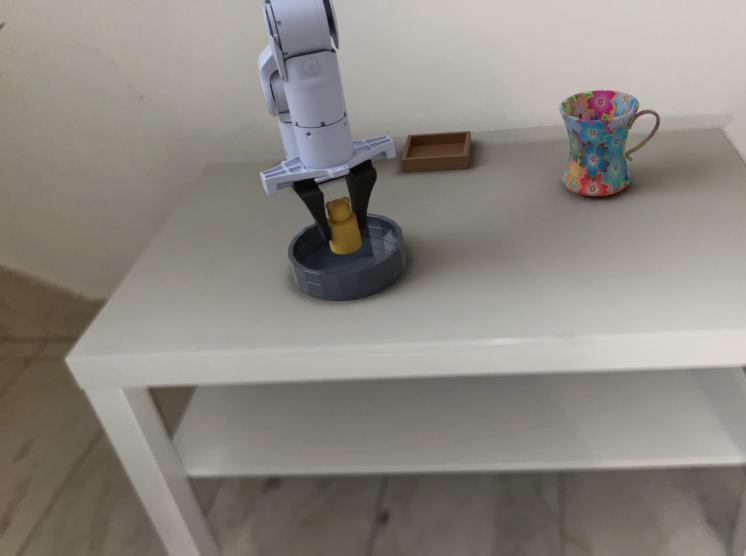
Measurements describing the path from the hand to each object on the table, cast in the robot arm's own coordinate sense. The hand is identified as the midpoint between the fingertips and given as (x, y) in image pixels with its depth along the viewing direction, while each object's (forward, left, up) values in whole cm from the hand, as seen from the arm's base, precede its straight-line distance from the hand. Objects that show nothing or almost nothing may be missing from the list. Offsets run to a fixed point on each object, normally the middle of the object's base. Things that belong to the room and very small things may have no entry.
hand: (343, 231), depth 87 cm
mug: (+1, +35, -5) cm, 35 cm away
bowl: (0, 0, -5) cm, 5 cm away
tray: (-20, +21, -5) cm, 29 cm away
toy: (0, 0, -2) cm, 2 cm away
